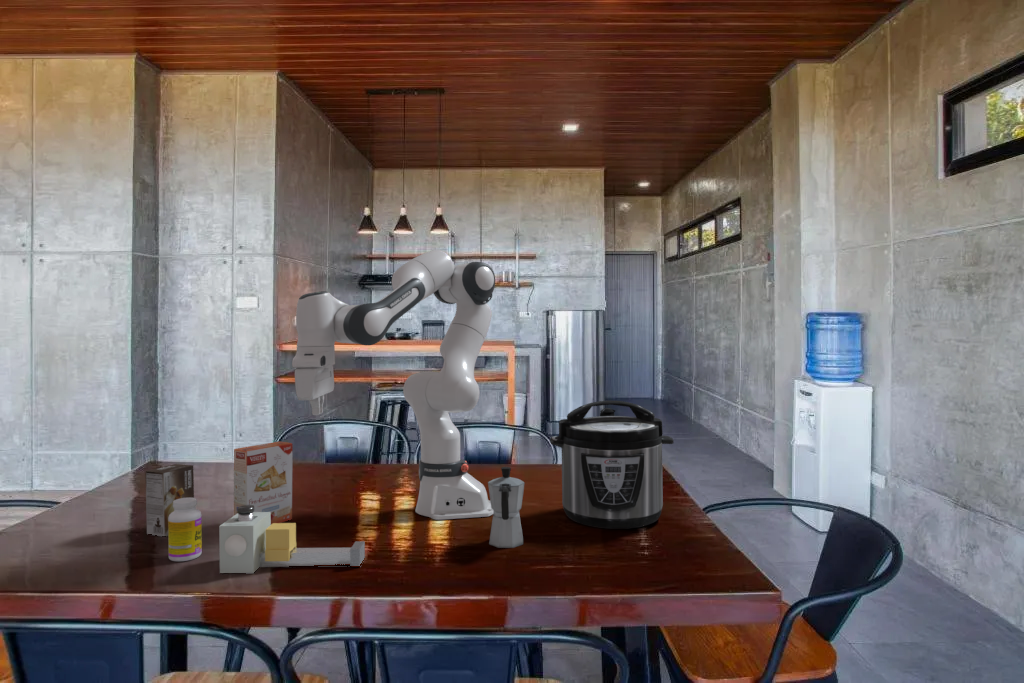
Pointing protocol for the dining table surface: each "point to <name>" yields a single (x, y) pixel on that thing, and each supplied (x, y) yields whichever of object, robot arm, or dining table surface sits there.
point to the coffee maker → (506, 510)
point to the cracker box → (264, 479)
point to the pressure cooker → (612, 466)
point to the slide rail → (320, 556)
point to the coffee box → (166, 494)
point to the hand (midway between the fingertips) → (317, 414)
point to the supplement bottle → (184, 530)
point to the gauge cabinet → (243, 543)
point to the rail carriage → (280, 541)
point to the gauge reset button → (245, 512)
